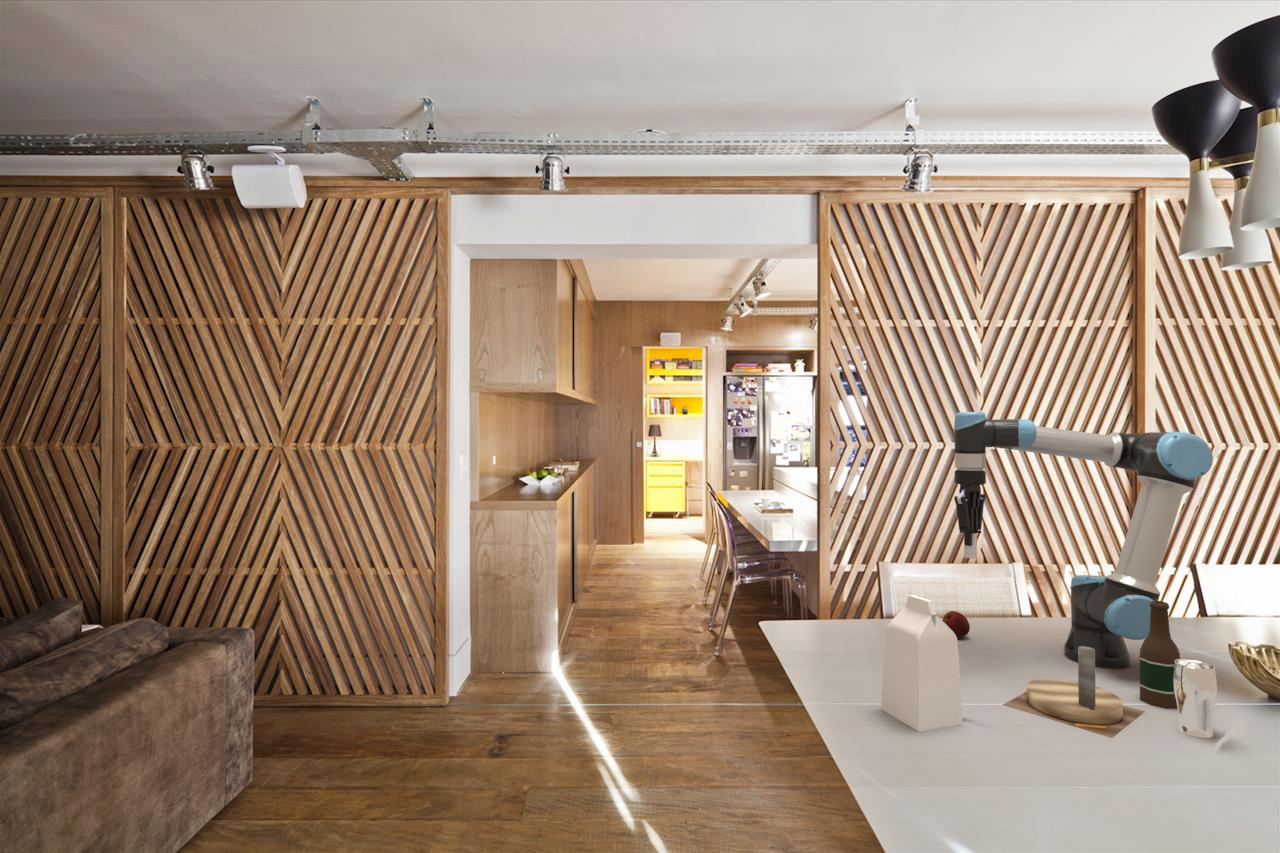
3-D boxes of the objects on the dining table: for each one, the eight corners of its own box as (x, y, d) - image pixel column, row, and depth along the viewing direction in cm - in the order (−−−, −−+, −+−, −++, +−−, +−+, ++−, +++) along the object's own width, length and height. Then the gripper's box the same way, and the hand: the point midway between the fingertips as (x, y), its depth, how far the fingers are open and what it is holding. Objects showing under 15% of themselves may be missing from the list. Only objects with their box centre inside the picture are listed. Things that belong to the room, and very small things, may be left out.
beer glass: (1225, 746, 132) (1225, 671, 133) (1186, 743, 134) (1185, 668, 134) (1203, 731, 139) (1203, 659, 140) (1166, 728, 141) (1165, 657, 141)
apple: (938, 633, 209) (938, 607, 209) (965, 634, 208) (964, 608, 208) (946, 640, 202) (946, 613, 202) (973, 641, 201) (973, 614, 201)
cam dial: (1014, 689, 159) (1013, 626, 159) (1097, 694, 156) (1097, 630, 156) (1046, 720, 141) (1045, 649, 141) (1140, 727, 138) (1140, 654, 138)
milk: (881, 709, 150) (880, 593, 151) (922, 703, 154) (922, 590, 154) (918, 731, 139) (918, 606, 139) (962, 724, 142) (962, 602, 143)
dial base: (1041, 688, 163) (1041, 682, 163) (1145, 716, 147) (1145, 710, 147) (1002, 709, 150) (1002, 703, 150) (1112, 743, 134) (1112, 736, 134)
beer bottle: (1173, 703, 154) (1172, 599, 154) (1188, 716, 147) (1187, 607, 147) (1133, 698, 157) (1132, 596, 157) (1146, 711, 149) (1145, 604, 150)
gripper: (967, 468, 185) (968, 553, 185) (944, 469, 177) (944, 558, 177) (995, 469, 179) (996, 557, 179) (972, 470, 171) (973, 562, 171)
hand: (970, 557), depth 178 cm, fingers closed
